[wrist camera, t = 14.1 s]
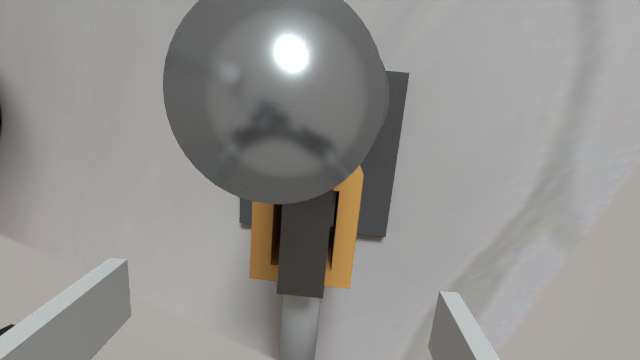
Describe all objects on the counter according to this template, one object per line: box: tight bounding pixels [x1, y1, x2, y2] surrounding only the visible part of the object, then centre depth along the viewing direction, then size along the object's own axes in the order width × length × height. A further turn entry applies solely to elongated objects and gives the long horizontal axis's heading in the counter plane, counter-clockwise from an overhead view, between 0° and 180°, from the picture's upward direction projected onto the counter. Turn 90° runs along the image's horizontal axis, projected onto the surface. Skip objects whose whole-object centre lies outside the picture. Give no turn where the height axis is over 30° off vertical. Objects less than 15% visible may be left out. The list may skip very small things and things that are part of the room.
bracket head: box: [250, 165, 364, 360], centre depth 27 cm, size 7×18×8 cm, turn 175°
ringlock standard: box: [163, 0, 409, 237], centre depth 21 cm, size 16×19×27 cm
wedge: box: [277, 188, 334, 299], centre depth 27 cm, size 3×8×14 cm, turn 175°
